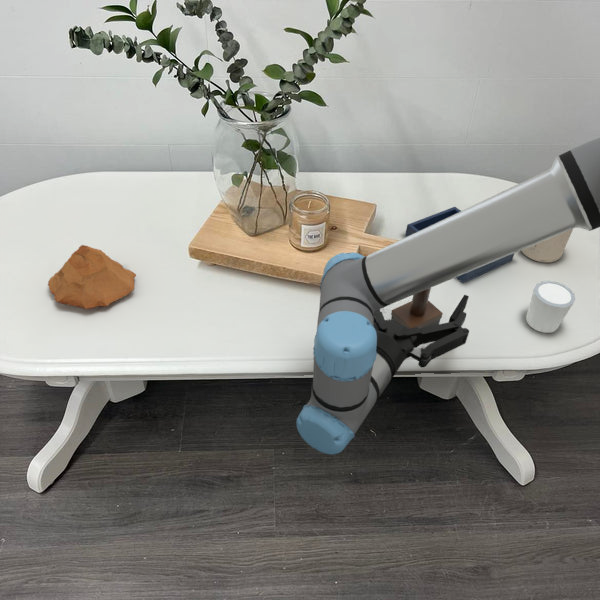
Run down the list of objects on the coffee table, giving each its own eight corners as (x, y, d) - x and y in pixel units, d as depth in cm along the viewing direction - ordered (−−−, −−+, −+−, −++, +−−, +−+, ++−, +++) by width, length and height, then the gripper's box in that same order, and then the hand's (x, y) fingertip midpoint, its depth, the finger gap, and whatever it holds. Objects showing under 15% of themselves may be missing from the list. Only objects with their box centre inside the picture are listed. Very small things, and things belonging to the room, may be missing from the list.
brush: (438, 328, 102) (455, 266, 92) (407, 343, 99) (421, 281, 89) (419, 310, 105) (433, 249, 95) (388, 325, 102) (400, 263, 92)
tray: (512, 260, 117) (516, 249, 115) (463, 283, 111) (466, 271, 109) (452, 217, 127) (454, 206, 125) (404, 236, 122) (407, 224, 120)
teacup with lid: (568, 248, 120) (589, 201, 112) (554, 270, 115) (574, 222, 107) (513, 227, 125) (529, 180, 117) (497, 247, 120) (512, 199, 112)
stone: (43, 293, 109) (37, 241, 106) (119, 282, 117) (115, 234, 114) (64, 314, 98) (58, 257, 95) (146, 300, 106) (143, 247, 103)
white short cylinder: (534, 303, 107) (546, 274, 102) (568, 322, 104) (582, 293, 99) (515, 321, 104) (526, 292, 99) (550, 341, 100) (564, 312, 95)
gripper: (298, 347, 92) (360, 276, 105) (444, 418, 83) (492, 330, 96) (300, 313, 87) (364, 243, 100) (455, 385, 78) (504, 297, 91)
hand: (427, 286), depth 98 cm, fingers open, 13 cm apart
